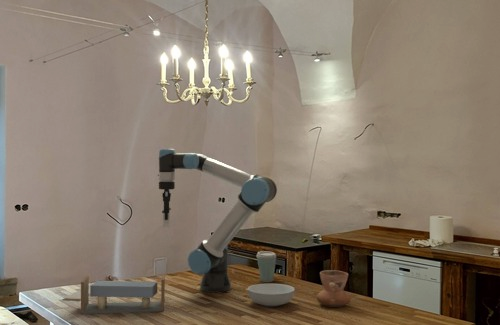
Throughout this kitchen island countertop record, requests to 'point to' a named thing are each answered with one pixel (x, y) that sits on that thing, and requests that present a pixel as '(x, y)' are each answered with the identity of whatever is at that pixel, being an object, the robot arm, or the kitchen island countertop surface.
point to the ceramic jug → (333, 289)
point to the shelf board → (123, 289)
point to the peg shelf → (119, 307)
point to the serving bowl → (271, 294)
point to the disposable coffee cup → (266, 265)
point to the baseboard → (77, 295)
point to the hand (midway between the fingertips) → (166, 225)
